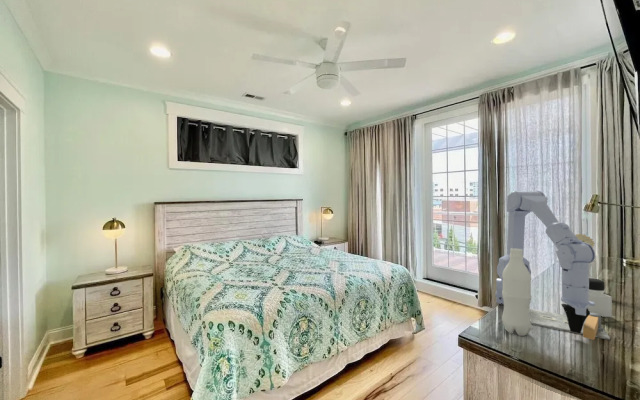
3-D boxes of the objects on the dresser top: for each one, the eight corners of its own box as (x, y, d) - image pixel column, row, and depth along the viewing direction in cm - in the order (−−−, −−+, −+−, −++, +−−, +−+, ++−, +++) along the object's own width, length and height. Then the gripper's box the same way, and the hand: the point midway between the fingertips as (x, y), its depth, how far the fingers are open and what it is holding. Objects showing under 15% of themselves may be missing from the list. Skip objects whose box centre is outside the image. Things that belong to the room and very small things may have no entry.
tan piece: (596, 341, 75) (596, 329, 75) (580, 337, 77) (580, 325, 77) (601, 324, 85) (601, 314, 85) (587, 321, 87) (587, 311, 87)
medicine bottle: (612, 317, 93) (612, 282, 93) (588, 315, 95) (587, 281, 95) (596, 309, 100) (596, 276, 100) (573, 308, 102) (573, 275, 102)
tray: (530, 324, 88) (530, 321, 88) (527, 309, 100) (527, 307, 100) (611, 340, 78) (611, 336, 78) (597, 322, 90) (597, 319, 90)
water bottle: (523, 340, 78) (523, 252, 78) (497, 329, 84) (497, 248, 84) (536, 334, 81) (536, 250, 81) (510, 324, 88) (510, 246, 88)
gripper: (602, 294, 71) (602, 346, 71) (587, 280, 83) (587, 325, 83) (565, 289, 75) (565, 339, 75) (557, 277, 87) (557, 320, 87)
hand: (575, 331), depth 79 cm, fingers closed
